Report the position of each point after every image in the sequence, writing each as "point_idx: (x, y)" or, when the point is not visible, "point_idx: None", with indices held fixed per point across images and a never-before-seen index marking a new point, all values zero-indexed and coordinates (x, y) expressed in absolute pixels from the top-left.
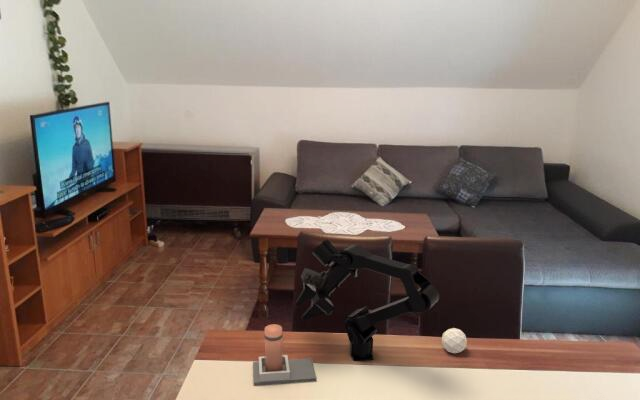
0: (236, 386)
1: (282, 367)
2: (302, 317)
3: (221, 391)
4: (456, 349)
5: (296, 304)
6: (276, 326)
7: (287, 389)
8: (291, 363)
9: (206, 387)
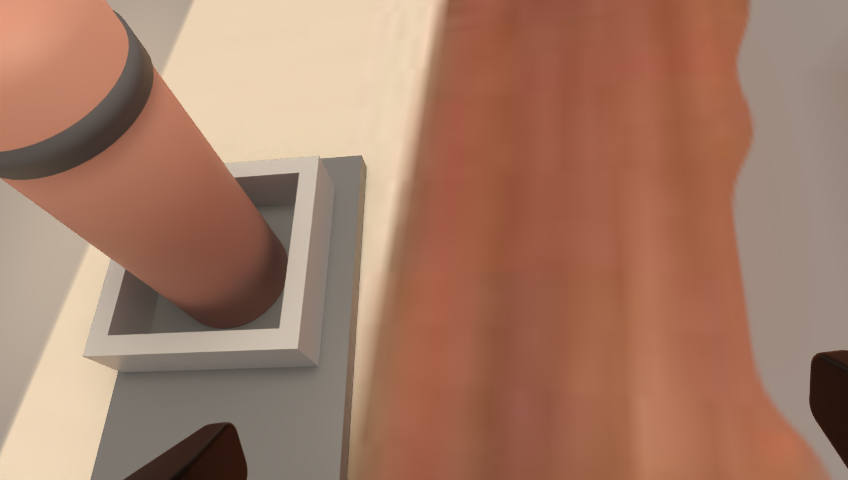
0: (202, 109)
1: (201, 316)
2: (182, 443)
3: (187, 58)
4: None
5: (818, 376)
6: (11, 50)
7: (82, 360)
8: (294, 396)
9: (234, 5)
